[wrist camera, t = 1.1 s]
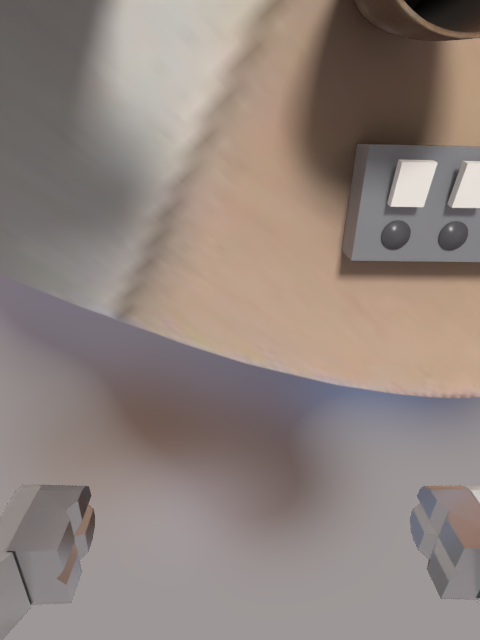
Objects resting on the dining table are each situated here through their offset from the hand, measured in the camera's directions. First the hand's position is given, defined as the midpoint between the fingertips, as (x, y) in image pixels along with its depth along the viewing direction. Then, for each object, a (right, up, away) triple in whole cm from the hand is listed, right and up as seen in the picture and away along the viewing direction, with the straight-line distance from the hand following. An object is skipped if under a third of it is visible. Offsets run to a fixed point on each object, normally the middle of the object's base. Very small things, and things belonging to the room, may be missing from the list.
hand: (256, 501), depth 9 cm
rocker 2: (+23, +18, +29) cm, 42 cm away
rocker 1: (+17, +18, +29) cm, 38 cm away
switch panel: (+23, +18, +35) cm, 46 cm away
